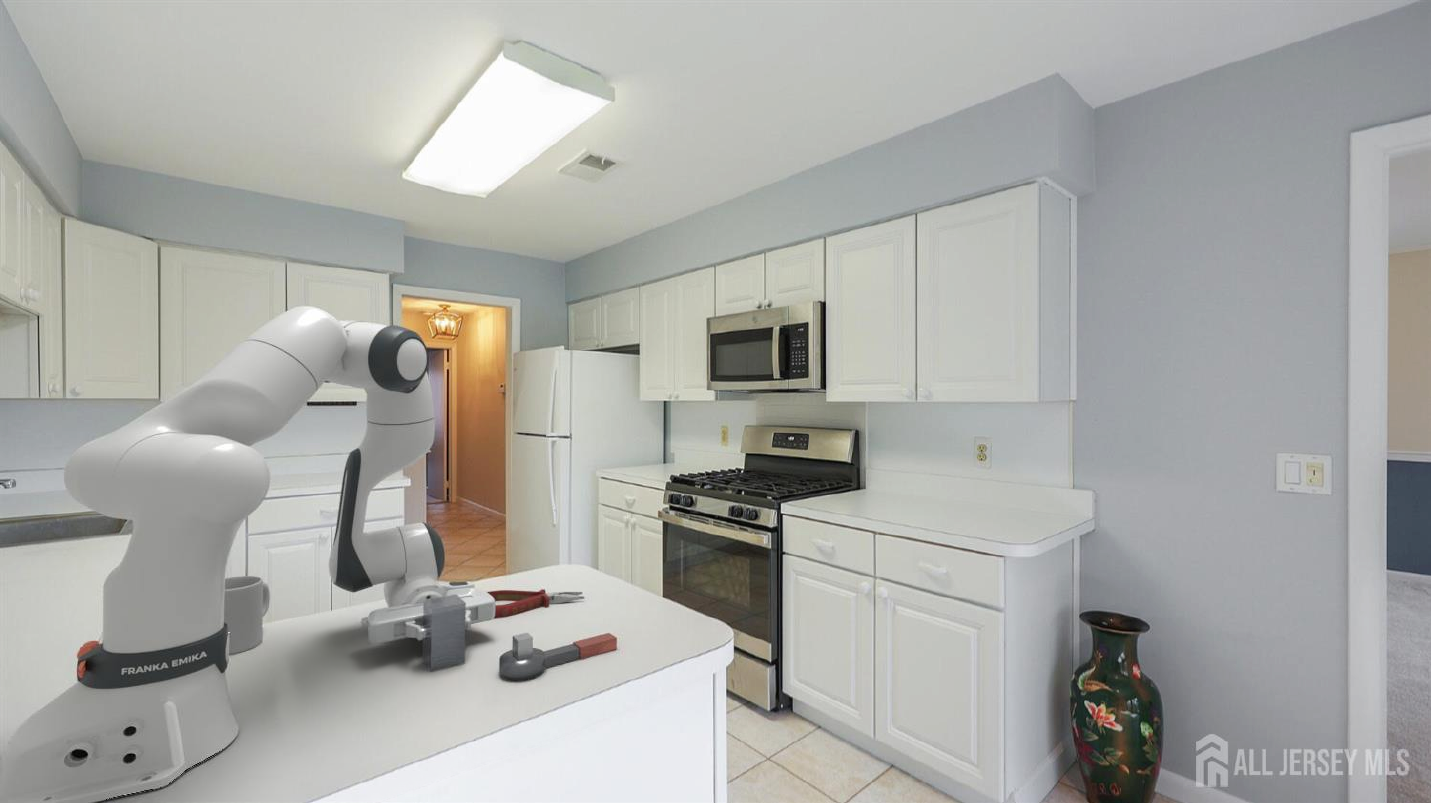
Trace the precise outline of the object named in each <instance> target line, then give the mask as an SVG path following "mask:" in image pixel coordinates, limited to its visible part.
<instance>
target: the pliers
mask: <svg viewBox="0 0 1431 803" xmlns="http://www.w3.org/2000/svg"><path fill="white" fill-rule="evenodd" d="M486 592H487V593H488V594H490V595H491V596H492V597H493V598H494V599H495V602H501V601H503V602H507V601H508V602H509V601H510V603H506V604H505V603H504V604H495V617H494V618H493V619H497V618H498V619H499V618H507V617H511V616H515V615H517V614H522V613H526V612H528V611H531V610H535V609H537V608H542V607H543V608H545V609H546V608H550V605H551V604H552V605H553V604H554V605H556V604H561V603H563V604H564V603H568V602H572V601H579V600H585V596H582V594H583V592H582V591H554V592H548V593H546V589H544V588H543V589H542V588H541V589H540V590H538V591H534V590H533V591H531V590H515V589H513V590H512V589H503V590H502V589H501V590H500V589H499V590H498V589H497V590H490V591H486Z"/></svg>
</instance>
